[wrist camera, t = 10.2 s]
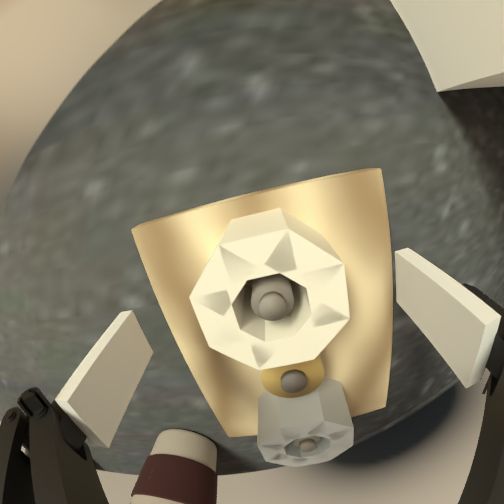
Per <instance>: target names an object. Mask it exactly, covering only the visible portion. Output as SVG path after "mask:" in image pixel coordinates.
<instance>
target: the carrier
mask: <svg viewBox="0 0 504 504" xmlns="http://www.w3.org/2000/svg"><path fill="white" fill-rule="evenodd" d="M278 208H281V209H283V210H284V211H286V212H288V213H289V214H291V215H292V216H294V217H296V218H297V219H299V220H300V221H302V222H304V223H305V224H307V225H308V226H310V227H312V228H313V229H315V230H316V231H318V232H319V233H321V234H322V236H323V237H324V238H325V239H326V241H327V242H328V243H329V245H330V246H331V247H332V248H333V250H334V251H335V252H336V254H337V255H338V256H339V258H340V259H341V260H342V262H343V263H344V269H345V277H346V285H347V294H348V304H349V315H350V319H349V320H348V321H347V323H346V324H345V325H344V326H343V327H342V329H341V330H340V331H339V332H338V333H337V334H336V336H335V337H334V338H333V339H332V340H331V341H330V342H329V344H328V345H327V346H326V347H325V348H324V349H323V350H322V351H321V352H320V354H319V355H318V356H317V357H316V358H315V359H314V360H309V361H305V362H300V363H295V364H290V365H285V366H280V367H275V368H269V369H263V370H257V369H255V368H253V367H251V366H248V365H246V364H244V363H242V362H239V361H237V360H235V359H233V358H231V357H229V356H226V355H224V354H222V353H220V352H218V351H216V350H214V349H212V348H210V347H209V345H208V343H207V341H206V338H205V336H204V334H203V331H202V329H201V326H200V324H199V321H198V319H197V316H196V314H195V311H194V309H193V306H192V304H191V301H190V299H189V297H190V295H191V293H192V291H193V289H194V287H195V285H196V283H197V281H198V279H199V277H200V275H201V273H202V271H203V269H204V267H205V265H206V263H207V261H208V260H209V258H210V256H211V254H212V252H213V251H214V249H215V247H216V245H217V244H218V242H219V240H220V239H221V237H222V235H223V233H224V232H225V230H226V228H227V226H228V225H229V223H230V221H231V220H232V219H236V218H240V217H244V216H248V215H252V214H257V213H261V212H265V211H269V210H273V209H278ZM131 230H132V233H133V236H134V239H135V242H136V245H137V248H138V251H139V253H140V256H141V259H142V261H143V264H144V267H145V269H146V272H147V275H148V277H149V280H150V282H151V285H152V287H153V290H154V292H155V295H156V297H157V299H158V302H159V304H160V307H161V309H162V311H163V313H164V316H165V318H166V320H167V322H168V325H169V327H170V329H171V331H172V333H173V336H174V338H175V340H176V342H177V344H178V346H179V348H180V350H181V352H182V354H183V356H184V358H185V360H186V362H187V364H188V366H189V368H190V370H191V372H192V374H193V376H194V378H195V380H196V381H197V383H198V385H199V387H200V389H201V391H202V393H203V394H204V396H205V398H206V400H207V401H208V403H209V405H210V407H211V408H212V410H213V412H214V414H215V415H216V417H217V419H218V420H219V422H220V424H221V425H222V427H223V428H224V430H225V432H226V433H227V435H228V437H238V436H250V435H258V398H259V397H260V396H261V395H262V394H263V393H265V392H266V391H268V392H269V393H271V394H273V395H275V396H278V397H283V398H296V397H301V396H304V395H307V394H309V393H311V392H312V391H314V390H315V389H316V388H318V387H319V386H320V384H321V383H322V381H323V379H324V376H326V377H328V378H331V379H333V380H336V381H339V382H341V385H342V388H343V392H344V395H345V399H346V402H347V405H348V409H349V412H350V416H351V417H354V416H358V415H361V414H365V413H368V412H371V411H374V410H378V409H381V408H384V407H386V400H387V392H388V384H389V374H390V363H391V350H392V329H393V278H392V257H391V243H390V232H389V222H388V213H387V205H386V198H385V191H384V184H383V178H382V172H381V169H379V168H368V169H362V170H356V171H351V172H345V173H340V174H335V175H330V176H325V177H320V178H315V179H310V180H305V181H301V182H296V183H292V184H287V185H283V186H278V187H274V188H270V189H265V190H261V191H257V192H253V193H249V194H245V195H241V196H237V197H233V198H229V199H225V200H222V201H218V202H214V203H210V204H207V205H203V206H199V207H196V208H192V209H189V210H185V211H182V212H178V213H175V214H172V215H168V216H165V217H162V218H158V219H155V220H152V221H148V222H145V223H142V224H140V225H138V226H136V227H134V228H133V229H131ZM292 281H293V280H291V279H289V278H288V277H286V276H284V275H282V274H281V273H278V274H273V275H269V276H264V277H260V278H255V279H250V280H247V281H246V283H245V284H246V285H248V286H249V287H251V288H252V295H251V307H252V309H253V311H254V313H255V314H256V315H257V316H258V317H260V318H262V319H264V320H268V321H275V320H280V319H282V318H284V317H286V316H287V315H288V314H289V313H290V312H291V310H292V308H293V306H294V298H293V293H292V288H291V283H292ZM319 442H320V436H310V437H305V438H299V439H295V440H294V446H295V447H297V448H300V451H302V452H310V451H313V450H314V449H315V448H316V445H317V444H318V443H319Z"/></svg>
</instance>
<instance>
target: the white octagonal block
mask: <svg viewBox="0 0 504 504" xmlns="http://www.w3.org/2000/svg"><path fill="white" fill-rule="evenodd" d="M278 273H281V274H282V275H284V276H286V277H288V278H289V279H291V280H293V281H292V283H291V288H292V293H293V298H294V306H293V308H292V310H291V312H290V313H289V314H288V315H287V316H286V317H284V318H282V319H280V320H275V321H268V320H264V319H262V318H260V317H258V316H257V315H256V314H255V313H254V311H253V309H252V307H251V295H252V288H251V287H249V286H248V285H246V284H245V283H246V281H247V280H250V279H255V278H260V277H264V276H269V275H273V274H278ZM189 299H190V301H191V304H192V306H193V309H194V311H195V314H196V316H197V319H198V321H199V324H200V326H201V329H202V331H203V334H204V336H205V338H206V341H207V343H208V345H209V347H210V348H212V349H214V350H216V351H218V352H220V353H222V354H224V355H226V356H229V357H231V358H233V359H235V360H237V361H239V362H242V363H244V364H246V365H248V366H251V367H253V368H255V369H257V370H263V369H269V368H275V367H280V366H285V365H290V364H295V363H300V362H305V361H309V360H314V359H315V358H316V357H317V356H318V355H319V354H320V352H321V351H322V350H323V349H324V348H325V347H326V346H327V345H328V344H329V342H330V341H331V340H332V339H333V338H334V337H335V336H336V334H337V333H338V332H339V331H340V330H341V329H342V327H343V326H344V325H345V324H346V323H347V321H348V320H349V319H350V315H349V304H348V294H347V285H346V277H345V269H344V263H343V262H342V260H341V259H340V258H339V256H338V255H337V254H336V252H335V251H334V250H333V248H332V247H331V246H330V245H329V243H328V242H327V241H326V239H325V238H324V237H323V236H322V234H321V233H319V232H318V231H316V230H315V229H313V228H312V227H310V226H308V225H307V224H305V223H304V222H302V221H300V220H299V219H297V218H296V217H294V216H292V215H291V214H289V213H288V212H286V211H284V210H283V209H281V208H278V209H273V210H269V211H265V212H261V213H257V214H252V215H248V216H244V217H240V218H236V219H232V220H231V221H230V223H229V225H228V226H227V228H226V230H225V232H224V233H223V235H222V237H221V239H220V240H219V242H218V244H217V245H216V247H215V249H214V251H213V252H212V254H211V256H210V258H209V260H208V261H207V263H206V265H205V267H204V269H203V271H202V273H201V275H200V277H199V279H198V281H197V283H196V285H195V287H194V289H193V291H192V293H191V295H190V297H189Z"/></svg>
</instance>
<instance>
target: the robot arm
mask: <svg viewBox="0 0 504 504" xmlns="http://www.w3.org/2000/svg"><path fill="white" fill-rule="evenodd" d="M395 263H396V302H397V303H398V304H399V305H400V306H401V307H402V309H403V310H404V311H405V312H406V313H407V314H408V316H409V317H410V318H411V319H412V320H413V321H414V323H415V324H416V325H417V326H418V327H419V329H420V330H421V331H422V332H423V333H424V335H425V336H426V337H427V338H428V339H429V341H430V342H431V343H432V344H433V346H434V347H435V348H436V349H437V351H438V352H439V353H440V354H441V356H442V357H443V358H444V360H445V361H446V362H447V364H448V365H449V366H450V367H451V369H452V370H453V371H454V373H455V374H456V375H457V377H458V378H459V379H460V381H461V382H462V384H463V385H464V386H465V388H468V387H469V386H471V385H473V384H474V383H476V382H478V381H479V380H481V379H482V376H483V374H484V371H485V368H487V369H488V370H489V371H490V376H489V378H488V381H487V383H486V385H485V388H484V390H483V394H485V392H486V390H487V396H486V403H485V410H484V416H483V422H482V427H481V432H480V436H479V440H478V444H477V449H476V452H475V456H474V460H473V463H472V466H471V470H470V473H469V476H468V479H467V482H466V484H465V487H464V490H463V493H462V495H461V498H460V500H459V503H458V504H504V309H503V308H502V307H501V306H499V305H498V304H497V303H496V302H494V301H493V300H492V299H489V297H488V296H486V295H485V294H484V295H483V293H482V292H481V291H480V290H478V289H477V288H476V287H473V286H470V285H468V284H462V285H461V284H460V283H458V282H457V281H456V280H454V279H453V278H451V277H450V276H449V275H447V274H446V273H444V272H443V271H442V270H440V269H439V268H437V267H436V266H435V265H433V264H432V263H430V262H429V261H427V260H426V259H424V258H423V257H421V256H420V255H418V254H417V253H415V252H414V251H412V250H411V249H409V248H406V249H402V250H398V251H395ZM152 354H153V351H152V349H151V347H150V345H149V343H148V342H147V340H146V338H145V336H144V334H143V332H142V330H141V328H140V325H139V323H138V321H137V319H136V317H135V315H134V313H133V311H132V310H131V311H125V312H121V313H120V314H119V315H118V316H117V318H116V319H115V320H114V321H113V323H112V324H111V325H110V326H109V328H108V329H107V330H106V331H105V333H104V334H103V335H102V336H101V338H100V339H99V340H98V341H97V343H96V344H95V345H94V347H93V348H92V349H91V350H90V352H89V353H88V354H87V356H86V357H85V358H84V360H83V361H82V362H81V364H80V365H79V366H78V368H77V369H76V370H75V371H74V373H73V374H72V375H71V377H70V379H69V380H68V381H67V382H66V384H65V385H64V387H63V388H62V389H61V391H60V392H59V394H58V395H57V396H56V398H55V399H54V401H53V402H52V404H50V403H49V401H48V400H47V399H46V398H45V396H44V395H43V394H42V392H41V391H40V390H39V389H38V388H37V387H33V388H30V389H28V390H26V391H25V392H24V393H22V394H21V396H20V397H19V399H18V402H17V403H18V404H19V406H20V407H21V408H22V409H23V411H24V412H25V413H26V414H27V415H28V416H25V415H24V413H23V412H22V411H21V410H20V409H19V408H18V407H14V408H12V409H9V410H8V411H7V412H6V414H5V415H4V417H3V419H2V422H1V425H0V504H109V503H108V501H107V498H106V496H105V493H104V491H103V488H102V485H101V483H100V480H99V477H98V475H97V471H96V468H95V464H94V462H93V459H92V456H91V453H90V449H89V447H88V445H87V444H86V443H85V442H84V441H85V439H86V437H87V438H88V439H89V440H90V441H91V442H92V443H93V444H94V445H96V446H100V447H106V448H109V446H110V444H111V442H112V439H113V437H114V435H115V433H116V430H117V428H118V426H119V424H120V422H121V419H122V417H123V415H124V413H125V411H126V408H127V406H128V404H129V402H130V400H131V398H132V396H133V393H134V391H135V389H136V387H137V385H138V383H139V381H140V379H141V377H142V375H143V373H144V370H145V368H146V366H147V364H148V362H149V360H150V358H151V356H152ZM22 446H23V447H24V448H25V454H24V453H23V452H22V451H21V447H22Z"/></svg>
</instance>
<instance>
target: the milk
mask: <svg viewBox="0 0 504 504" xmlns="http://www.w3.org/2000/svg"><path fill="white" fill-rule="evenodd" d="M390 1H391V3H392V4H393V6H394V7H395V9H396V10H397V12H398V14H399V15H400V17H401V19H402V20H403V22H404V24H405V25H406V27H407V29H408V31H409V33H410V34H411V36H412V38H413V40H414V42H415V44H416V46H417V48H418V50H419V52H420V54H421V56H422V58H423V60H424V62H425V64H426V67H427V69H428V71H429V73H430V76H431V78H432V81H433V83H434V86H435V88H436V91H437V92H441V91H449V90H458V89H469V88H482V87H504V0H390Z"/></svg>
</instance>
